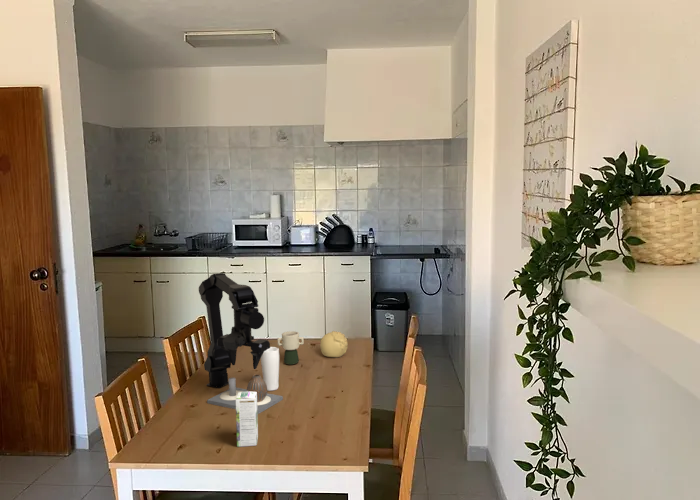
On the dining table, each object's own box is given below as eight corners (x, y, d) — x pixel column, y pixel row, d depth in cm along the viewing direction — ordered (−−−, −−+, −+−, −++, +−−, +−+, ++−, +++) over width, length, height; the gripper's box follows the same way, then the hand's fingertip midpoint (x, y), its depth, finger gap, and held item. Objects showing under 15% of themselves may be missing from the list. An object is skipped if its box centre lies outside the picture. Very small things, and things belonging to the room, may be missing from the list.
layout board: (207, 403, 199) (206, 382, 198) (233, 390, 211) (232, 370, 210) (258, 414, 189) (257, 392, 188) (282, 399, 201) (282, 379, 200)
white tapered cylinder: (277, 392, 208) (275, 352, 206) (259, 391, 209) (257, 351, 207) (283, 385, 214) (281, 347, 213) (265, 385, 216) (264, 346, 214)
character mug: (304, 360, 245) (303, 330, 243) (304, 365, 238) (303, 334, 236) (278, 361, 244) (277, 331, 242) (278, 366, 237) (276, 336, 235)
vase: (271, 397, 199) (270, 373, 198) (261, 404, 193) (260, 379, 192) (253, 395, 202) (252, 371, 201) (243, 402, 195) (242, 377, 194)
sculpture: (347, 359, 245) (347, 334, 244) (319, 359, 245) (318, 335, 244) (348, 351, 256) (347, 328, 255) (321, 352, 256) (320, 328, 255)
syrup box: (239, 438, 171) (236, 391, 169) (259, 437, 171) (256, 390, 170) (236, 447, 165) (234, 398, 164) (257, 446, 166) (255, 397, 164)
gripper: (205, 325, 193) (207, 370, 195) (250, 332, 185) (251, 378, 187) (226, 318, 203) (228, 360, 205) (270, 323, 195) (271, 368, 197)
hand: (244, 366), depth 198 cm, fingers open, 9 cm apart
